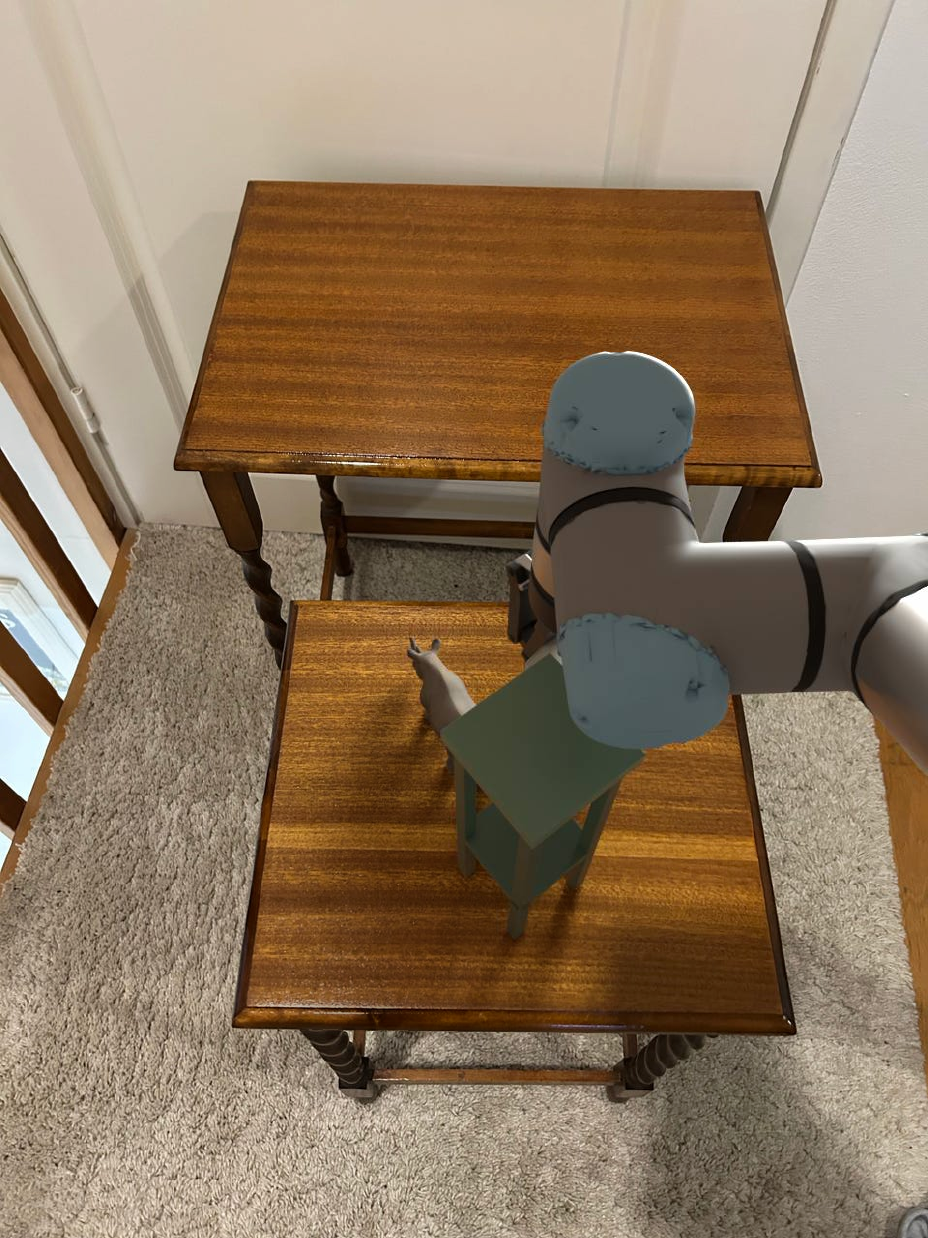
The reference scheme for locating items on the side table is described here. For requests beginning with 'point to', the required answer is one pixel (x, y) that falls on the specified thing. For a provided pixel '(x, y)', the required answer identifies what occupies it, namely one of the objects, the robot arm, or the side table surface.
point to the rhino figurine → (439, 691)
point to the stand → (524, 848)
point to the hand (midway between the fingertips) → (559, 719)
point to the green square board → (535, 753)
